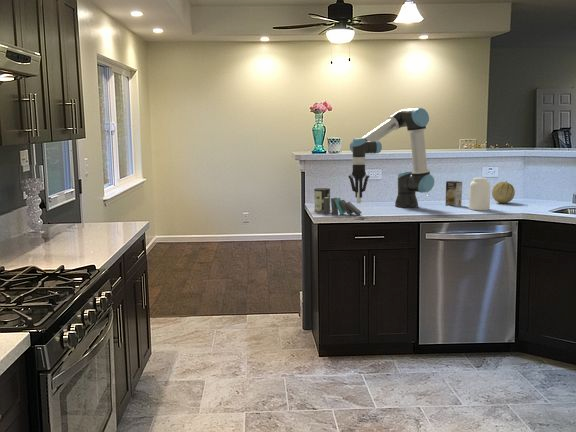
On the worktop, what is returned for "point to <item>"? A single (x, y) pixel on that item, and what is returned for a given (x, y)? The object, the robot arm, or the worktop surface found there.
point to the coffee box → (453, 193)
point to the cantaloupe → (503, 192)
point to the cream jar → (479, 194)
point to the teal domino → (339, 206)
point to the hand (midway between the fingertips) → (358, 203)
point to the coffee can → (320, 198)
